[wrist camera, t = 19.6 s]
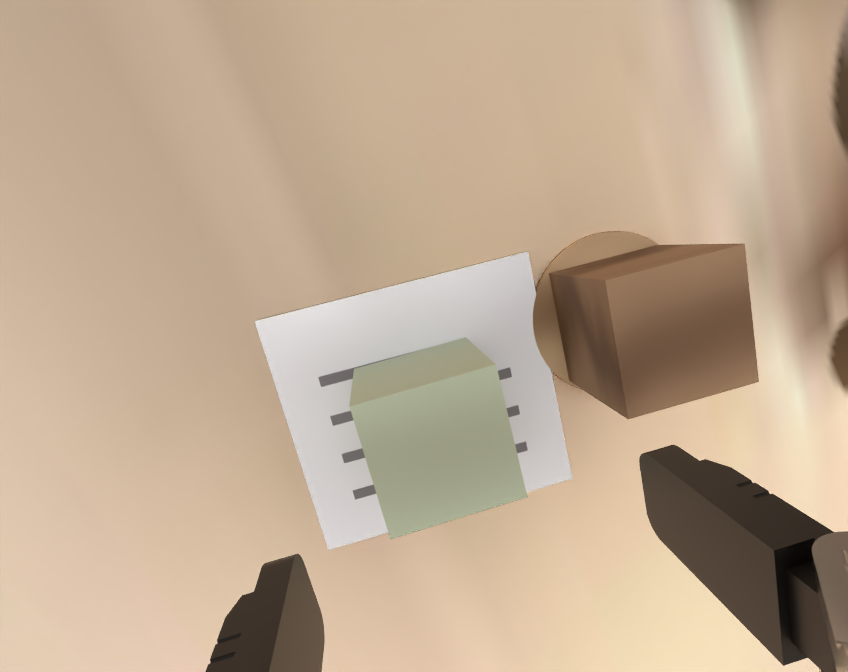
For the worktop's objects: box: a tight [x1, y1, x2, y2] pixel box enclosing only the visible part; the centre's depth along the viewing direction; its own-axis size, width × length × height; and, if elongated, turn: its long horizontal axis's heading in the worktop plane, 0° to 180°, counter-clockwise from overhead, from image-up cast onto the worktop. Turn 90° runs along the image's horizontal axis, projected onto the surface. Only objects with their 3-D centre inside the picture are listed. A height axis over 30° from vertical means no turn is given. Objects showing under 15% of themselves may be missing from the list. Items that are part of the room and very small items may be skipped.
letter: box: [255, 252, 573, 550], centre depth 23 cm, size 12×13×1 cm
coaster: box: [533, 231, 658, 390], centre depth 23 cm, size 8×8×1 cm
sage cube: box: [349, 337, 527, 539], centre depth 20 cm, size 6×6×6 cm
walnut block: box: [549, 244, 759, 419], centre depth 21 cm, size 6×6×6 cm
